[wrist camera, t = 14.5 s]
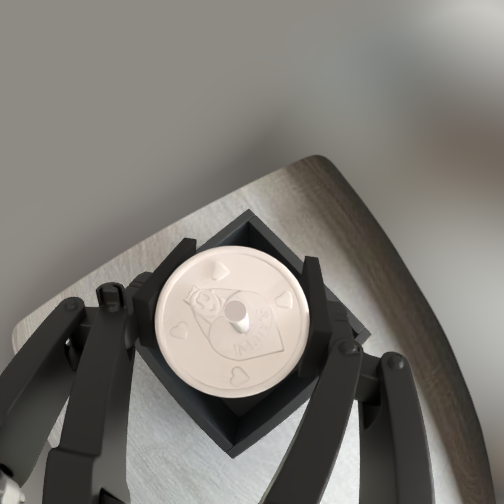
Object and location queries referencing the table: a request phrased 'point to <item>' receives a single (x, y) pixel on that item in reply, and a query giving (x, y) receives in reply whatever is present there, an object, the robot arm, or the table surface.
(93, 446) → the robot arm
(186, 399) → the bin
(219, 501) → the table surface
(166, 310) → the smoothie
